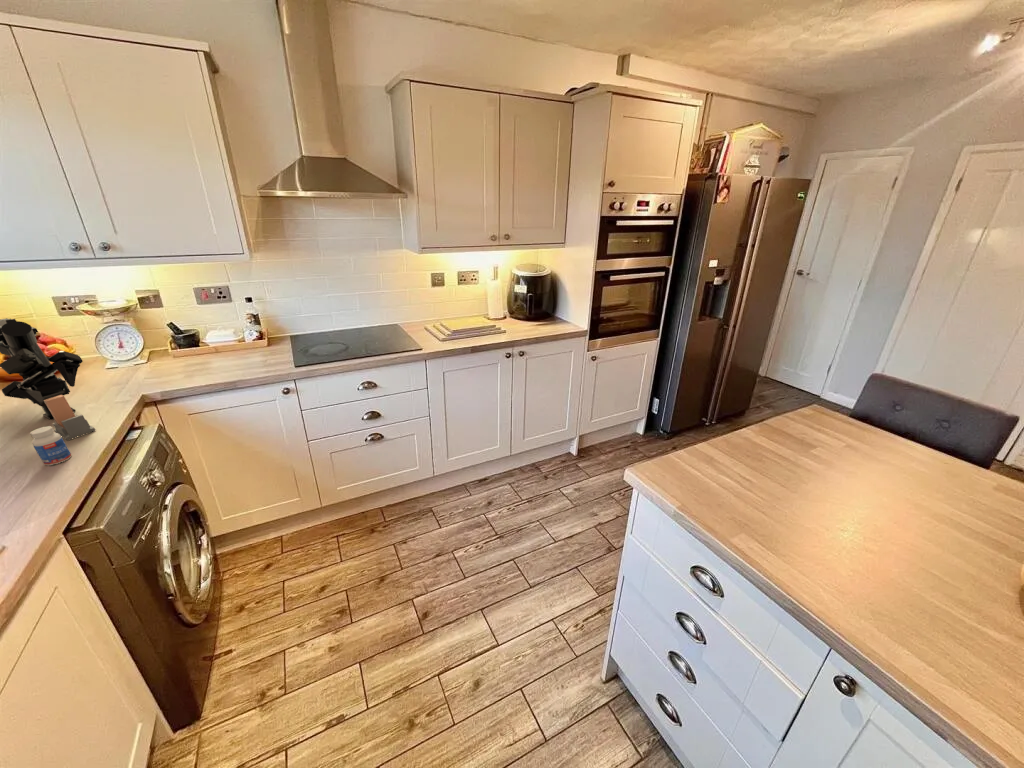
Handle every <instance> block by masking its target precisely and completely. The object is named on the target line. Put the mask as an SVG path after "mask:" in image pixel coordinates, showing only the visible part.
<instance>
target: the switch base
mask: <svg viewBox="0 0 1024 768" xmlns="http://www.w3.org/2000/svg"><path fill="white" fill-rule="evenodd" d="M61 422H62V424H63V426H64V427H65V429H64V428H63V427H62V426H60V425H58V424H57V422H53V423H51V424H52V426H53V427H54V429H53V430H54V433H58V434H60V435H61V436H62V438H63V437H64V438H63V439H65V438H66V439H67V440H66V439H65V440H66V441H68V440H69V439H72V438H75V437H77V436H80V437H82V436H81V435H83V434H85V435H87V434H86V433H88V434H91V433H93V432H96V431H95V430H96V429H95V427H93V426H92V425H90V424H89V422H88V420H87V419H86V418H85V417H84V415H83V414H78V415H76V414H75V417H72V418H70V419H67V420H64V421H61ZM92 431H93V432H92ZM90 432H91V433H90ZM83 436H84V435H83ZM77 438H78V437H77ZM75 439H76V438H75ZM72 440H73V439H72ZM69 441H70V440H69Z"/></svg>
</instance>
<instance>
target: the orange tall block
mask: <svg viewBox="0 0 1024 768" xmlns="http://www.w3.org/2000/svg"><path fill="white" fill-rule="evenodd" d="M44 402H45V404H46V405H47V407H48V409H49V410H50V412H51V414H52V416H53V417H54V419H53V420H54V421H55V423H56V424H58V425H60V426H62V427H63V428H64V429H65V427H64V426H63V424H62V422H61V421H64V420H67V419H70V418H72V417H75V416H76V414H75V412H73V411H72V409H71V408H72V407H71V405H70V404H69V402H68V400H67V398H66V397H65V395H59V396H56V397H52V398H49V399H46V400H44Z"/></svg>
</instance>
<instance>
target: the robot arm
mask: <svg viewBox="0 0 1024 768" xmlns="http://www.w3.org/2000/svg"><path fill="white" fill-rule="evenodd" d="M38 332H39V331H38V329H37V328H36V327H33V326H31V324H29V323H28V322H24V321H18V320H16V318H1V319H0V354H1V355H5V356H9V358H7V359H6V360H4V361H2V362H1V363H0V368H1V369H2V370H3V371H4V372H6V373H7V374H8V375H16V374H17V375H19V377H22V381H17V380H14V381H12V382H10V383H9V384H7V385H6V386H4V387H3V388H1V392H2V395H3V396H4V397H10V398H15V399H16V398H17V399H21V400H22V399H23V400H26V399H28V400H30V401H31V402H32V403H33V404H34V405H35V404H36V405H38V406H39V407H41V408H42V409H43V412H44V413H42V416H43V417H45V418H46V419H47V420H55V419H54V417H53V416H52V414H51V412H50V410H49V409H48V407H47V405H46V404H45V402H44V400H46V399H49V398H52V397H56V396H59V395H63V396H67V395H69V394H70V393H71V390H70V389H69V387H71V388H74V387H75V386H76V378H77V373H78V370H79V367H81V364H82V363H84V360H83V358H82V357H81V356H80V355H78V354H76V353H72V352H68V351H65V350H59V351H58V352H57V353H55V354H53V355H51V356H47V355H46V354H45V353H44V352H43V350H42V349H41V347H40V346H39V344H38V340H37V333H38ZM56 372H59V373H60V375H61V377H57V375H55V373H56ZM68 386H69V387H68ZM71 409H72V411H73V413H75V412H76V409H75V408H73V407H71Z"/></svg>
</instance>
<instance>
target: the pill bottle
mask: <svg viewBox="0 0 1024 768" xmlns="http://www.w3.org/2000/svg"><path fill="white" fill-rule="evenodd" d="M54 430H55V429H53V427H52V426H50V425H49V426H42V427H41V426H40V427H38V428H36V429H34V430H32V431H30V435H31V437H32V440H31V445H32V446H33V448H34V450H35V451H36V454H38V456H39V458H40V459H41V461H42V463H43V464H44V466H49V465H50V466H54V465H53V464H56V465H58V464H57V463H59V464H61V463H60V462H62V463H64V462H66V461H68V460H70V459H71V458H70V457H72V453H71V451H70V449H69V448H68V446H67V444H66V442H65V440H64V438H63V437H61V435H60V434H58V433H55V431H54ZM69 458H70V459H69ZM67 459H68V460H67ZM65 460H66V461H65ZM63 461H64V462H63Z"/></svg>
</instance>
